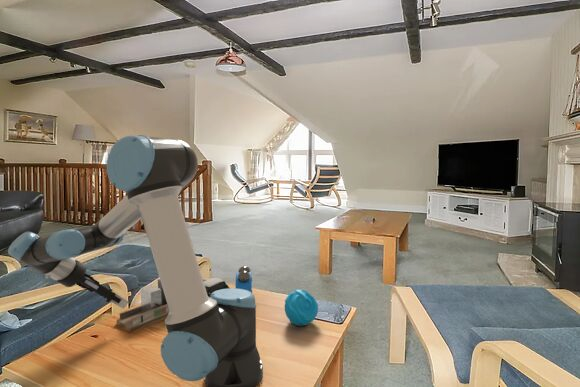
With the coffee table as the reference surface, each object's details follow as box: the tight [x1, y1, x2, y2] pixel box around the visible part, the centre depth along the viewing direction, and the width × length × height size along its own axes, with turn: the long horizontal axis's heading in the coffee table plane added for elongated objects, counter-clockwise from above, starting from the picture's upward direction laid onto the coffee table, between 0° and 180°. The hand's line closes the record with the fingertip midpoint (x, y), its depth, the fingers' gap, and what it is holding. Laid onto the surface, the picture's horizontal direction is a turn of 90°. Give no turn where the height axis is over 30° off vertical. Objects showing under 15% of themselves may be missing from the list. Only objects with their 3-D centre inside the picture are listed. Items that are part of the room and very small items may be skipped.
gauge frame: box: [116, 278, 169, 333], centre depth 120 cm, size 10×20×12 cm, turn 142°
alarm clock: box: [235, 265, 253, 293], centre depth 130 cm, size 13×6×15 cm, turn 6°
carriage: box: [140, 284, 162, 313], centre depth 120 cm, size 9×4×9 cm, turn 52°
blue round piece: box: [284, 289, 319, 327], centre depth 116 cm, size 12×11×12 cm
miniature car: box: [203, 277, 230, 297], centre depth 136 cm, size 9×18×8 cm, turn 146°
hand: (125, 304), depth 113 cm, fingers closed
